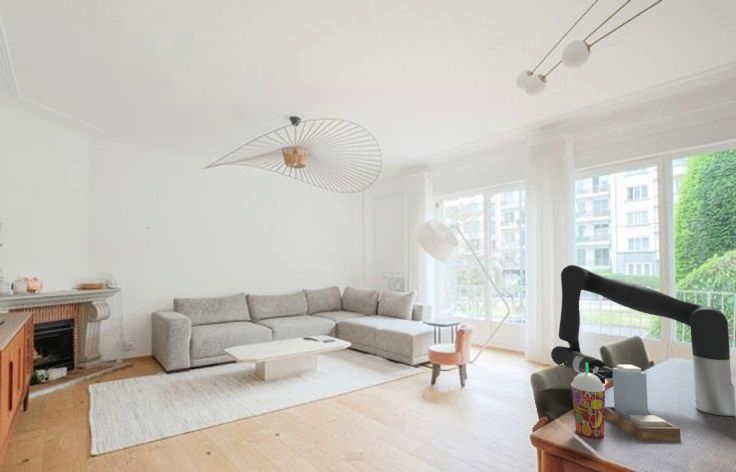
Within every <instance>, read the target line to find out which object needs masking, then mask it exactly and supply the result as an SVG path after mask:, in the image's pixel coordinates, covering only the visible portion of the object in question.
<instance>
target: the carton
mask: <svg viewBox="0 0 736 472" xmlns="http://www.w3.org/2000/svg"><path fill="white" fill-rule="evenodd" d="M612 369H613V377H612V378H613V380H612V385H613V386H612V387H613V407H614V410H615V412H616V413H618V414H619V415H621V416H623V417H624V418H626V419H628V420H629V421H630V415H648V412H649V407H648V388H647V387H648V386H647V373H645V372H643V371H642V368H640V367H638V366H635V365H633V364H616V367H612Z"/></svg>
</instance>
